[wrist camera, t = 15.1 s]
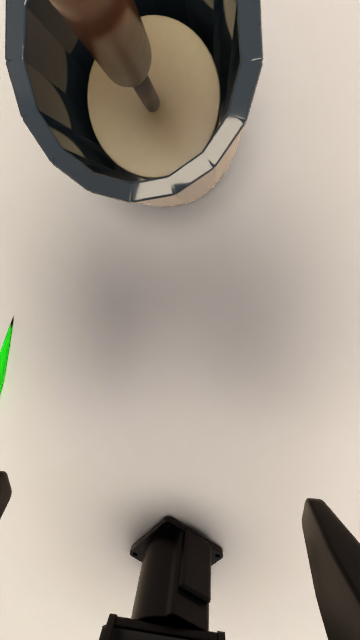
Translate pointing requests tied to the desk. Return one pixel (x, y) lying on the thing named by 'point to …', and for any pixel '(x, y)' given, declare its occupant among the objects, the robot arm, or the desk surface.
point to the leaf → (4, 355)
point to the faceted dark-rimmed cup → (72, 87)
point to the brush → (145, 85)
